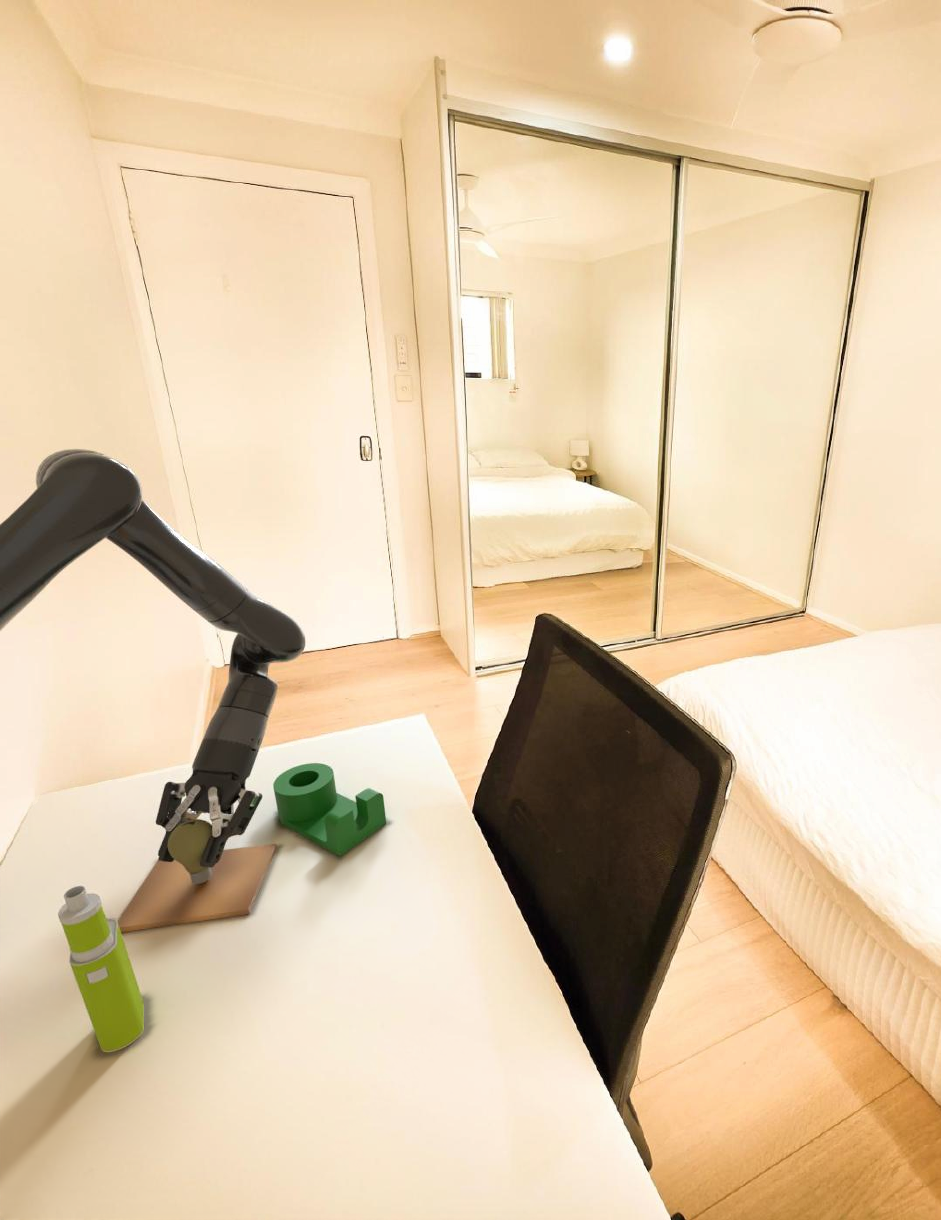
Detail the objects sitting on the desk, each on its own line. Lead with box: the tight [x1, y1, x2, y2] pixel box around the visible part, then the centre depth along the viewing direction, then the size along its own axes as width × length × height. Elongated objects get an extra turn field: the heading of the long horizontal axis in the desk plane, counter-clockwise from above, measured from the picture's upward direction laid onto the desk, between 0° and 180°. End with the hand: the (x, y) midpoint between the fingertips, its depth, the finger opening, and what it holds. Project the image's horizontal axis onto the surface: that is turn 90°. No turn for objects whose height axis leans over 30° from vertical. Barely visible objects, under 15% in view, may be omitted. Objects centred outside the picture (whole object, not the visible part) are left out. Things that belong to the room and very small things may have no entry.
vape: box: [57, 885, 145, 1053], centre depth 63 cm, size 4×6×20 cm, turn 36°
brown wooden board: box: [117, 843, 278, 933], centre depth 85 cm, size 16×13×1 cm
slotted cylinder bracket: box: [272, 762, 387, 857], centre depth 99 cm, size 18×9×6 cm, turn 61°
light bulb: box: [168, 818, 213, 884], centre depth 84 cm, size 6×6×10 cm
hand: (186, 863), depth 82 cm, fingers closed on light bulb, 5 cm apart
